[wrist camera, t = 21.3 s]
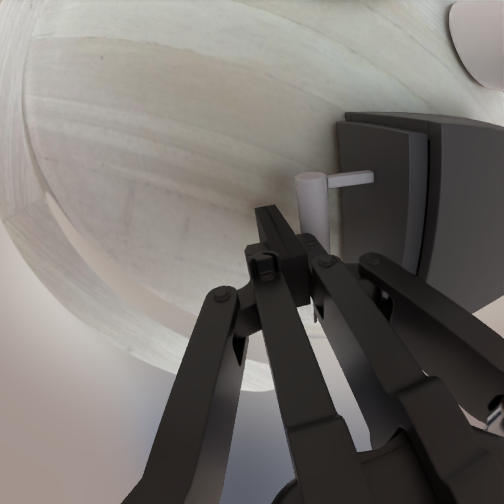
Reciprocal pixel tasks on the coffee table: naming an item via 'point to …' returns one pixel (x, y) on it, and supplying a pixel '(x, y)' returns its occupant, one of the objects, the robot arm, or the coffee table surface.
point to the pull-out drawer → (372, 193)
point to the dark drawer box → (459, 204)
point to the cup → (480, 39)
